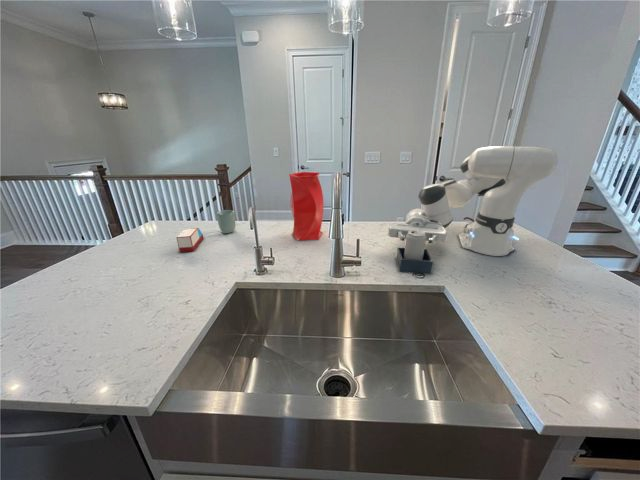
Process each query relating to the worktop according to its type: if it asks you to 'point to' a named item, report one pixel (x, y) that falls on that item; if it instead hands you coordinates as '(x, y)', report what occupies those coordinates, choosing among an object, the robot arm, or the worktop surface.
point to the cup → (226, 221)
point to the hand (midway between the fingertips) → (416, 240)
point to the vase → (306, 205)
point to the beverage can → (414, 245)
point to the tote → (414, 263)
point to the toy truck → (189, 239)
